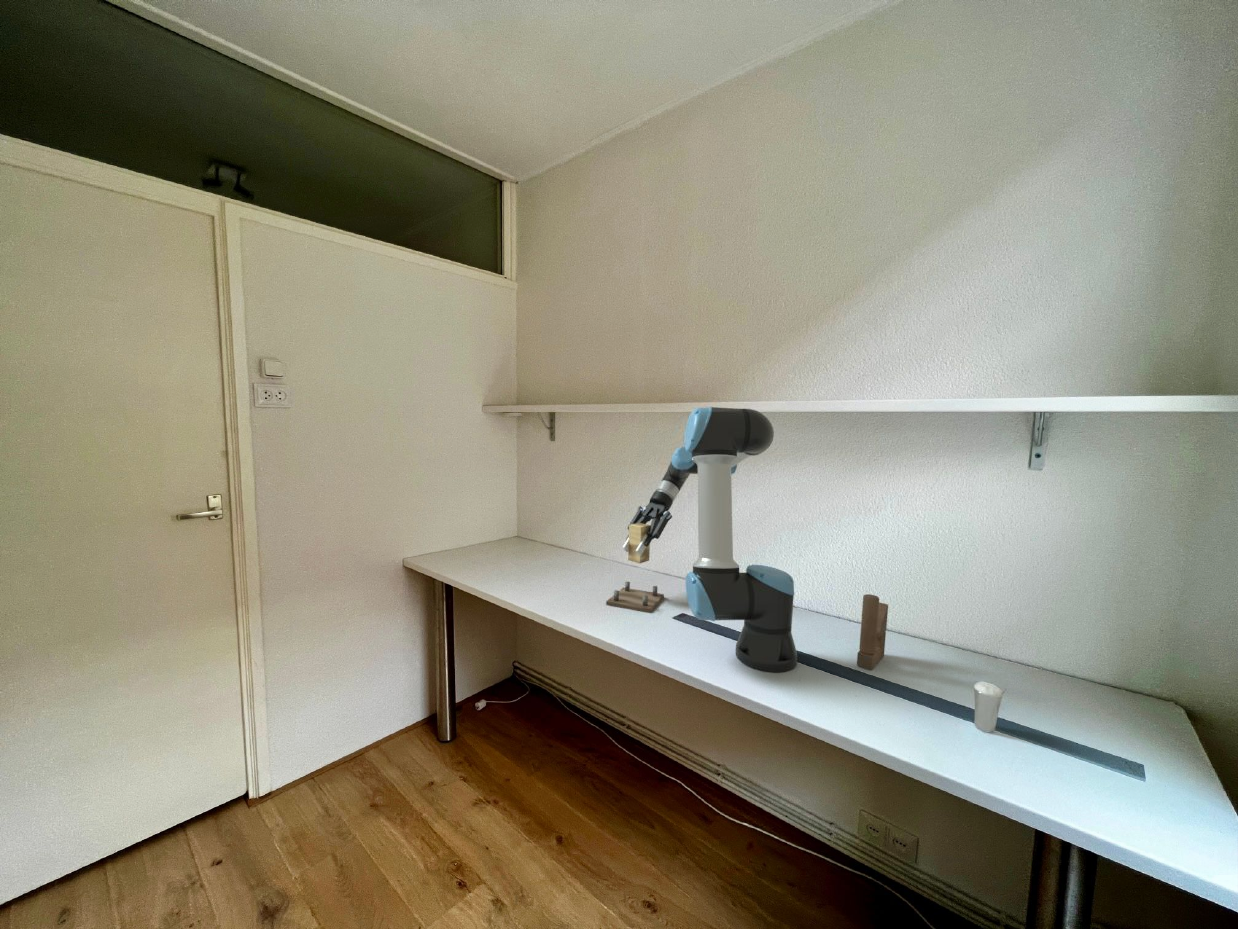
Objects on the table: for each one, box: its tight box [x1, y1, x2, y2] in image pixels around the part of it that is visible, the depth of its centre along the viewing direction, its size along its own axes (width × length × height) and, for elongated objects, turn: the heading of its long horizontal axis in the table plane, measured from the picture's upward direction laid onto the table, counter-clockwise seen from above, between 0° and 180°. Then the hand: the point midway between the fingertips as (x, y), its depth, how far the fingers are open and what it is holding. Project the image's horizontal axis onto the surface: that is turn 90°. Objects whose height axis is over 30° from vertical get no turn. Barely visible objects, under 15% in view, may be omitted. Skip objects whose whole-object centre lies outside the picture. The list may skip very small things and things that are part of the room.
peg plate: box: [605, 581, 665, 614], centre depth 163 cm, size 15×15×4 cm
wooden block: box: [856, 594, 889, 671], centre depth 125 cm, size 4×11×18 cm, turn 137°
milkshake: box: [973, 681, 1008, 734], centre depth 98 cm, size 4×5×10 cm
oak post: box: [627, 523, 651, 564], centre depth 163 cm, size 5×5×12 cm
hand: (631, 551), depth 160 cm, fingers closed on oak post, 5 cm apart
